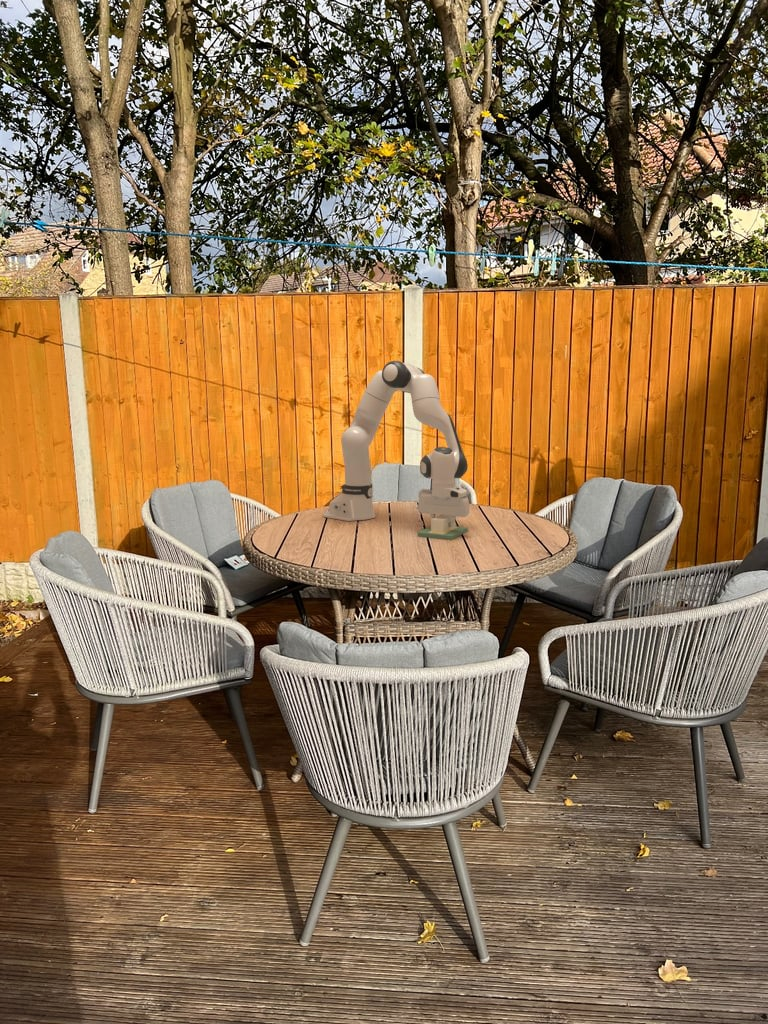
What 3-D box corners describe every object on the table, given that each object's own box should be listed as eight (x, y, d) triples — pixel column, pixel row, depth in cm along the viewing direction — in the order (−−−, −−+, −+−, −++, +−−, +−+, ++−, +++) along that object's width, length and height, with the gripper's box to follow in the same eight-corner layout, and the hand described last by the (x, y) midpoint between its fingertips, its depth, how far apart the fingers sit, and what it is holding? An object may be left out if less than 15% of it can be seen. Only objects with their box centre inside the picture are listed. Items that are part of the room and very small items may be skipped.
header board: (417, 536, 288) (417, 523, 287) (435, 527, 302) (435, 515, 301) (451, 540, 282) (451, 527, 281) (467, 531, 295) (468, 518, 294)
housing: (431, 532, 288) (431, 519, 287) (443, 525, 298) (443, 513, 296) (443, 533, 285) (443, 520, 284) (455, 527, 295) (455, 514, 294)
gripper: (415, 489, 290) (415, 525, 293) (464, 493, 281) (464, 530, 284) (422, 487, 296) (422, 521, 299) (471, 491, 286) (470, 526, 289)
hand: (443, 526), depth 291 cm, fingers closed on housing, 5 cm apart
